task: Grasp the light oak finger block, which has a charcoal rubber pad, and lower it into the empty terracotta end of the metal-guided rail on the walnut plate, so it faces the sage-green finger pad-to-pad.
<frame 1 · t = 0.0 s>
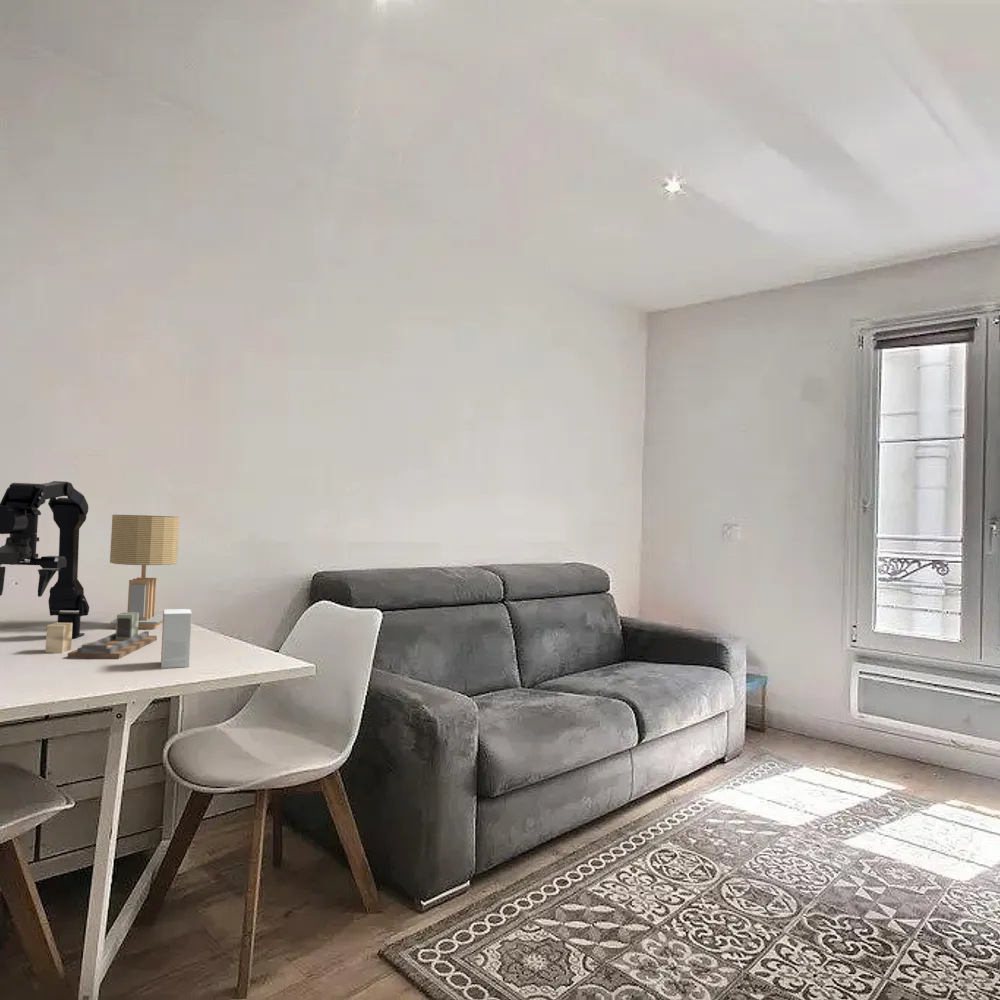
hand: (19, 596, 180), 15 cm above the table, fingers open, 9 cm apart
rail base: (115, 648, 194), on the table
desk lamp: (140, 626, 232), on the table
small box: (174, 665, 177), on the table
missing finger: (58, 651, 187), on the table
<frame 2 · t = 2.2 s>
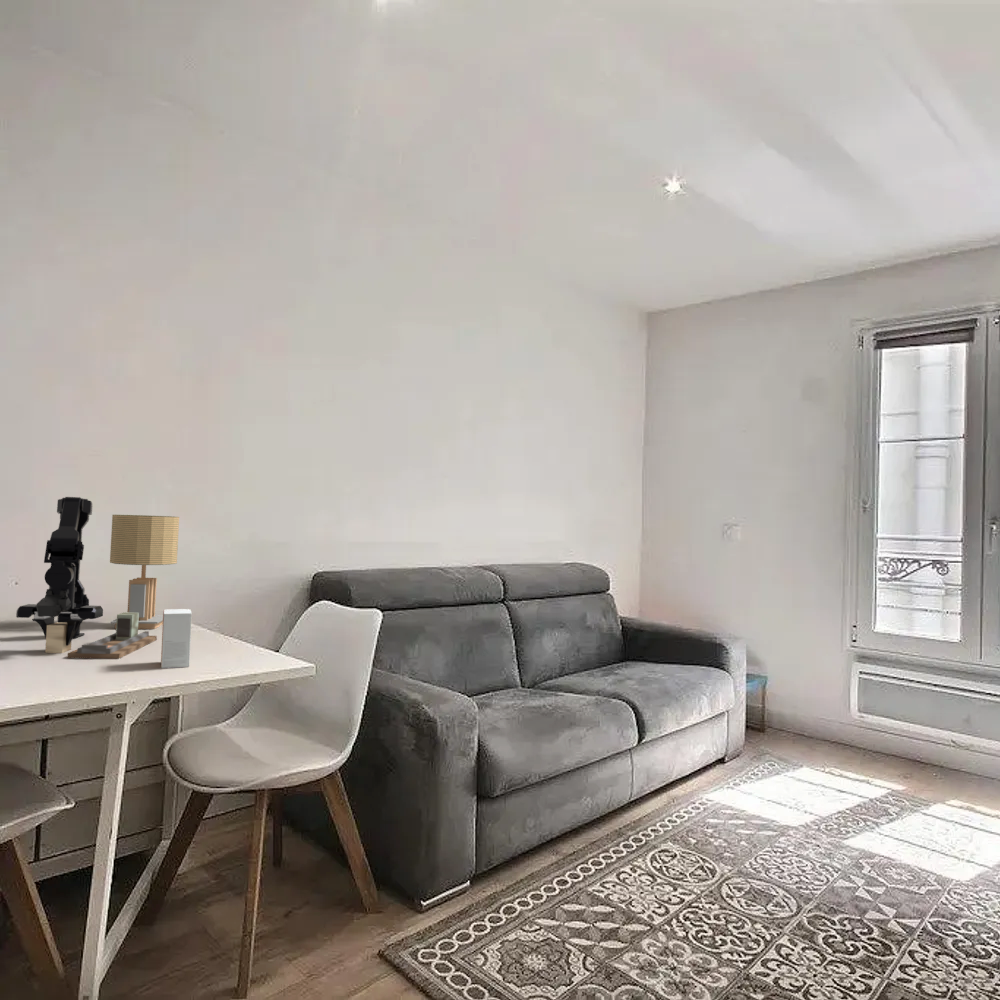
hand: (58, 645, 187), 2 cm above the table, fingers closed on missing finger, 4 cm apart
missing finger: (58, 651, 187), on the table, touching gripper
everything else where it was.
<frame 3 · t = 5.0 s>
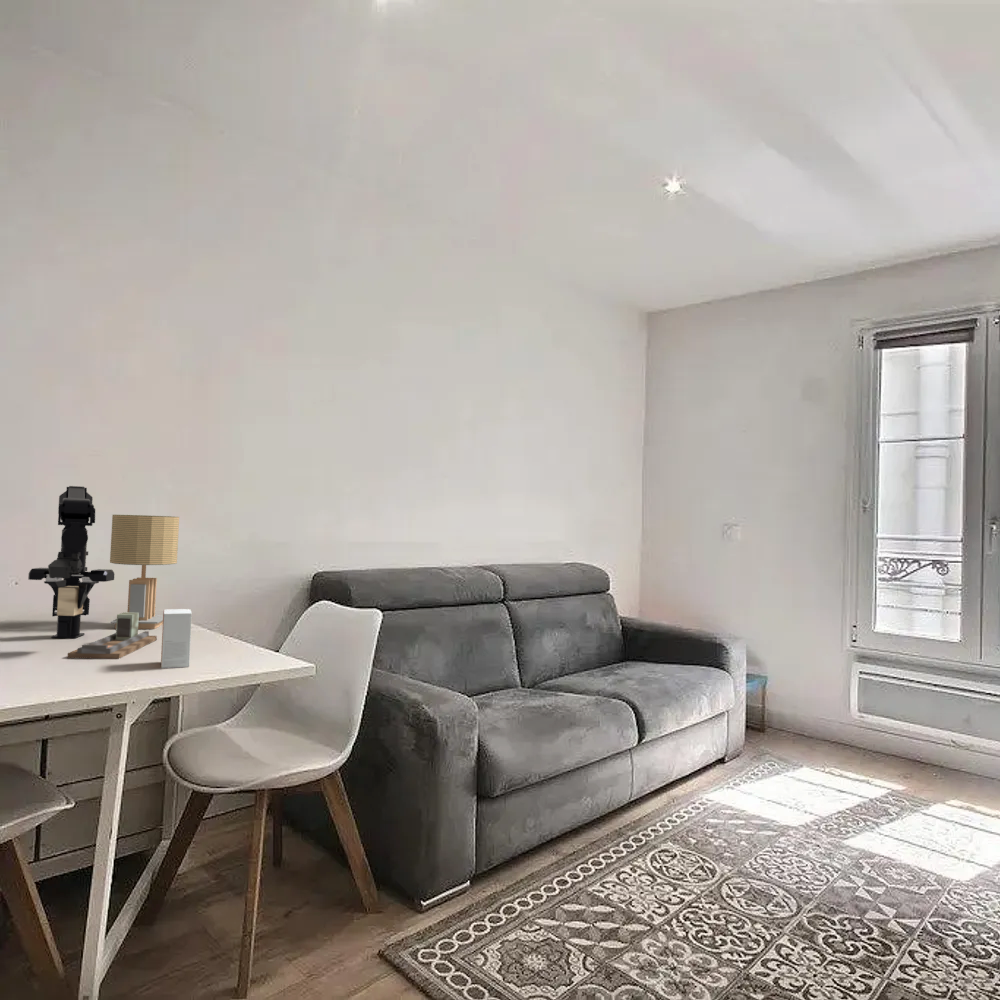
hand: (70, 608, 187), 11 cm above the table, fingers closed on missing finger, 4 cm apart
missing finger: (69, 614, 187), point 10 cm above the table, touching gripper
everything else where it was.
when the fingers open (4 cm above the table, at t = 7.5 s): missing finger drops 2 cm, resting on rail base.
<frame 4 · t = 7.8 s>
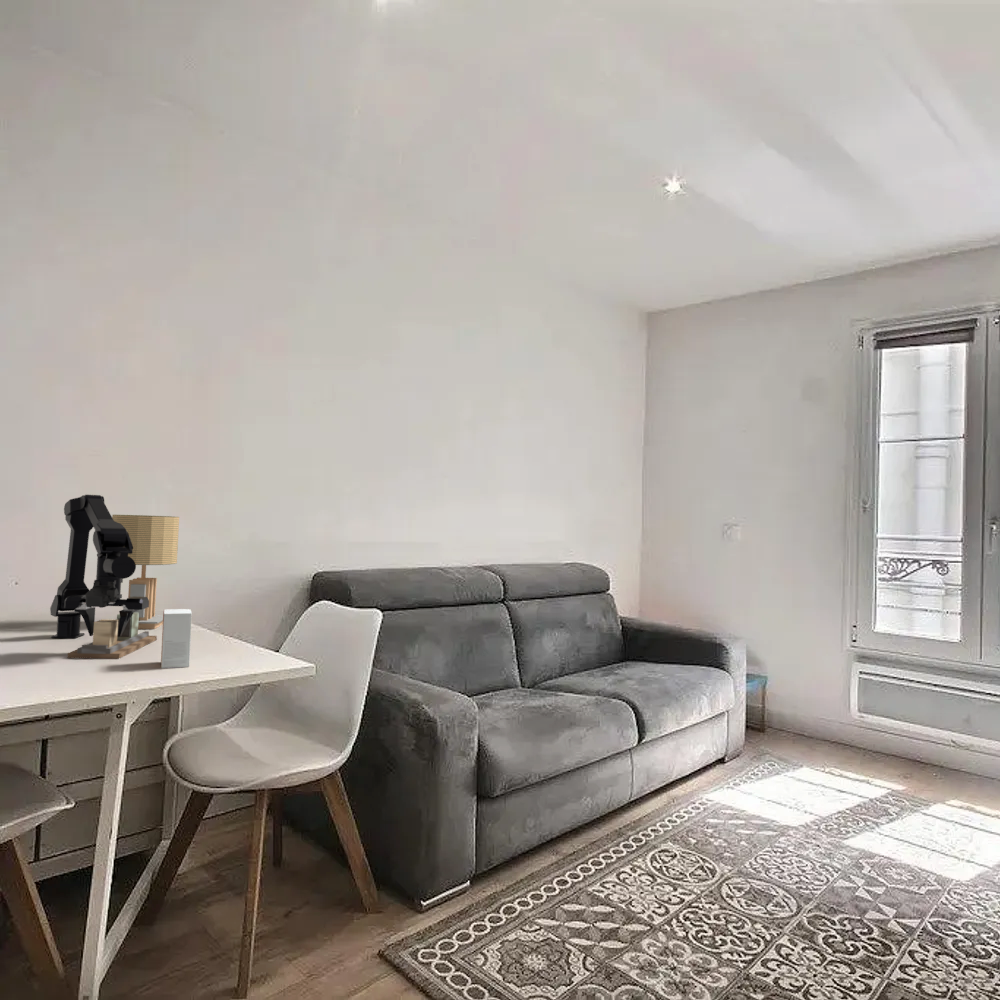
hand: (105, 636, 187), 4 cm above the table, fingers open, 7 cm apart
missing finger: (104, 648, 187), point 1 cm above the table, touching rail base
everything else where it was.
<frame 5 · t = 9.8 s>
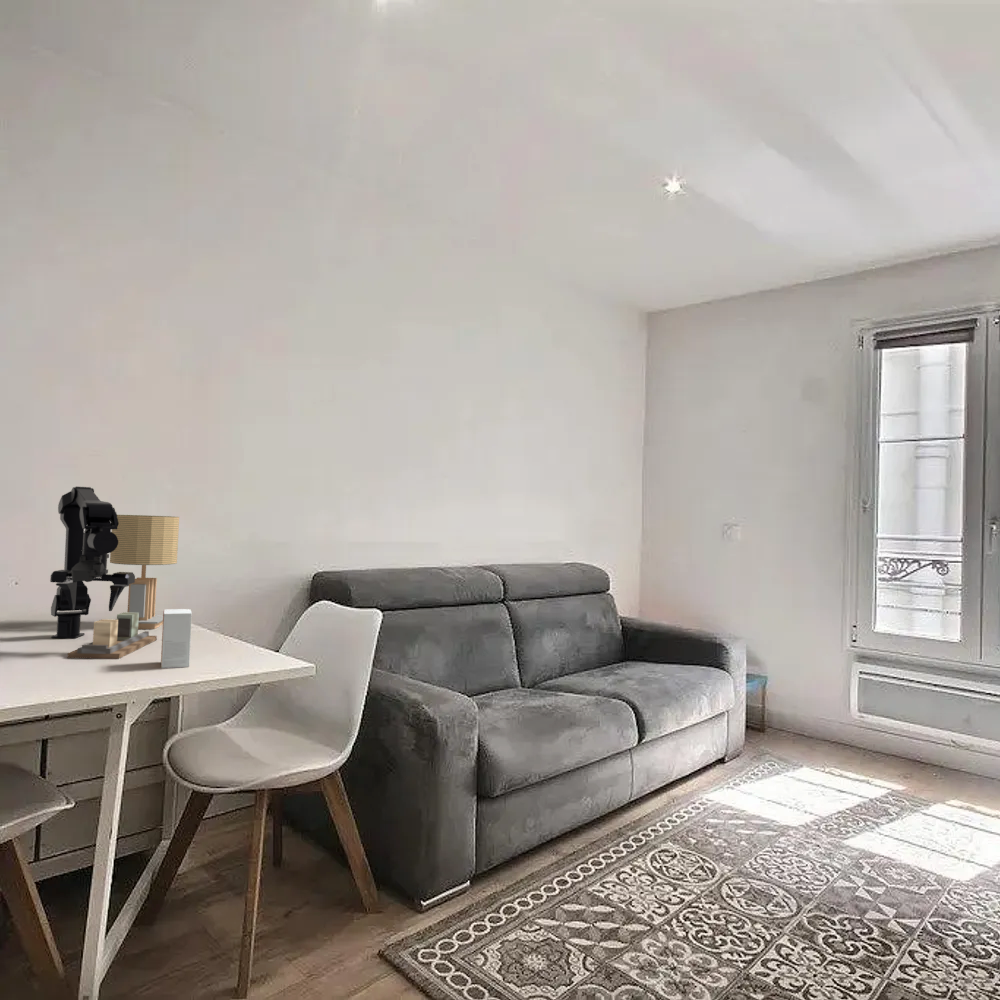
hand: (91, 610, 189), 11 cm above the table, fingers open, 9 cm apart
nothing on the table moved.
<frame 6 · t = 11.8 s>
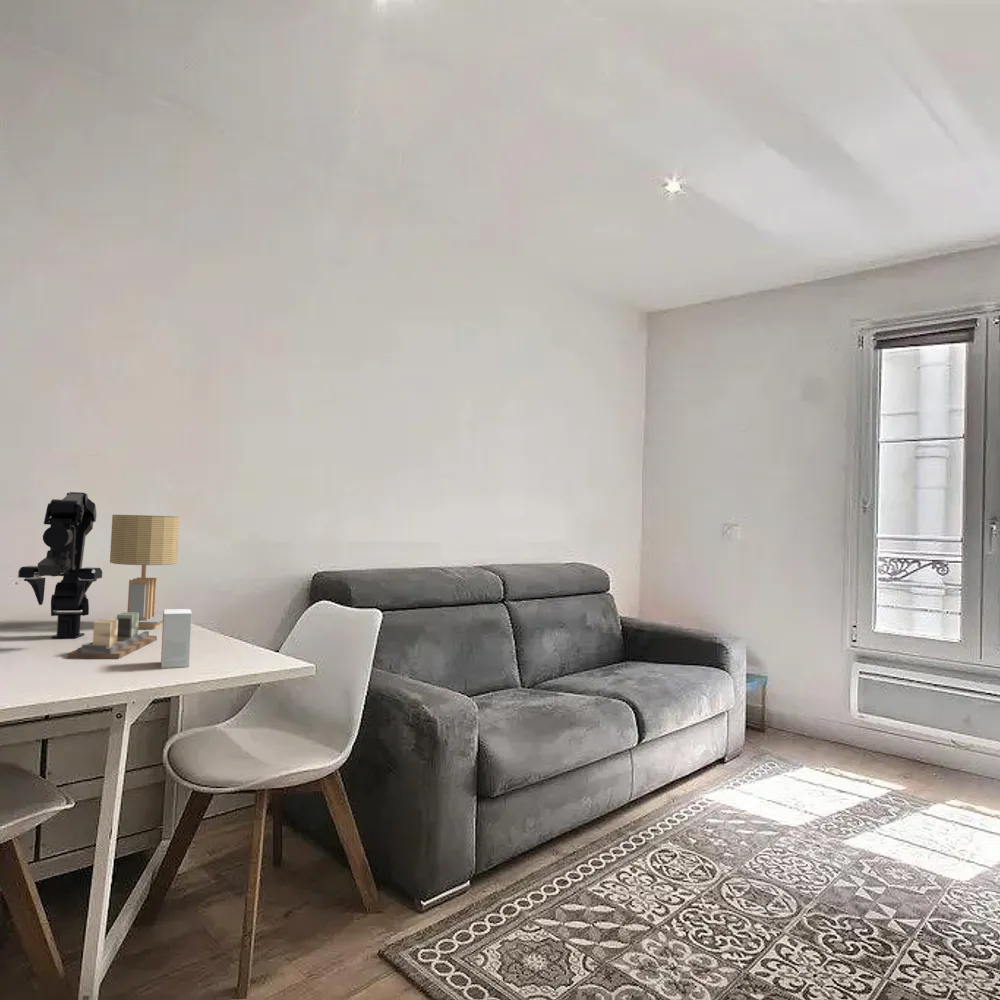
hand: (59, 605, 193), 11 cm above the table, fingers open, 9 cm apart
nothing on the table moved.
at the end: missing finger 0.0 cm from the target spot on the rail base, point 1.3 cm above the rail base's base; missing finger tilted 0°; the gripper is holding nothing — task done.
